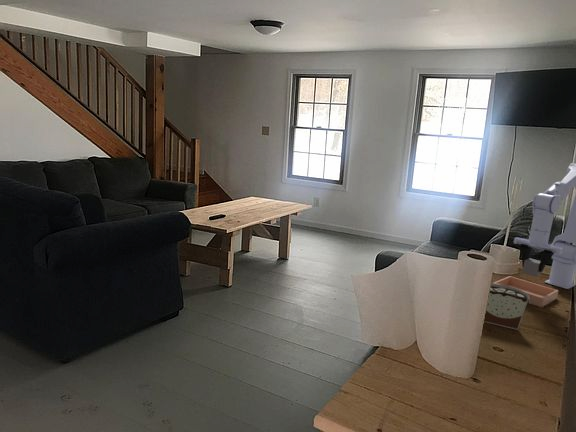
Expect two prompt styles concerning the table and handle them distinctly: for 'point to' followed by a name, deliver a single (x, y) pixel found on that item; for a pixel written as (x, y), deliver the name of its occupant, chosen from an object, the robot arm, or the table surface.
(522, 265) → the robot arm
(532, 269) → the grey block
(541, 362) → the table surface
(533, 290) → the terracotta bin
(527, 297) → the food container
